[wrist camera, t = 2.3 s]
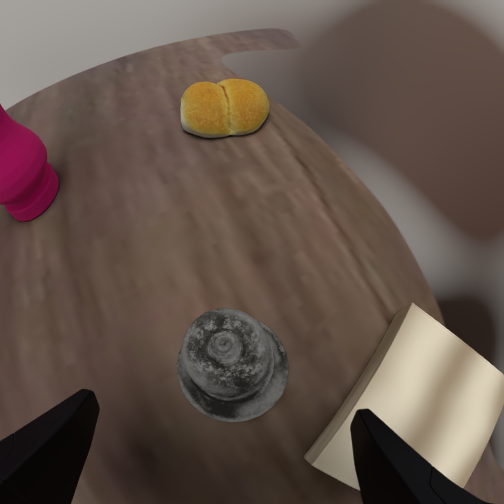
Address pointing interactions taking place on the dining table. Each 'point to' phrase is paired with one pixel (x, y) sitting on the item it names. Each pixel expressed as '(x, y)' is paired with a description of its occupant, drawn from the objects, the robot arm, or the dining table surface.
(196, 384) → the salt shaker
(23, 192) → the pepper mill
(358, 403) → the plate
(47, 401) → the dining table surface
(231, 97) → the bread roll
